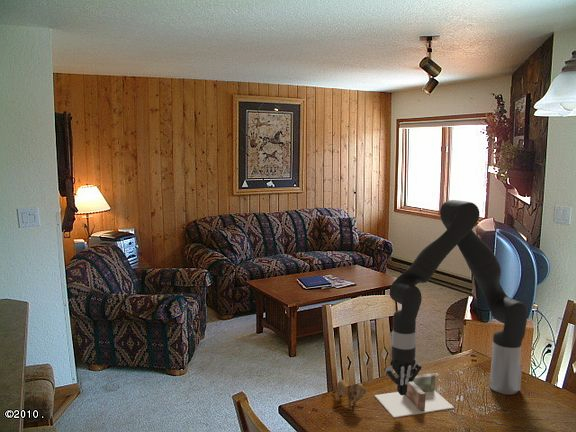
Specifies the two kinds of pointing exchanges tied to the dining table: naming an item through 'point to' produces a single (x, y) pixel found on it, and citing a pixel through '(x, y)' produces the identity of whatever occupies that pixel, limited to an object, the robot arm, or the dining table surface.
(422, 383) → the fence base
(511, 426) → the dining table surface
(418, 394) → the fence panel
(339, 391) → the lion figurine
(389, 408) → the card
